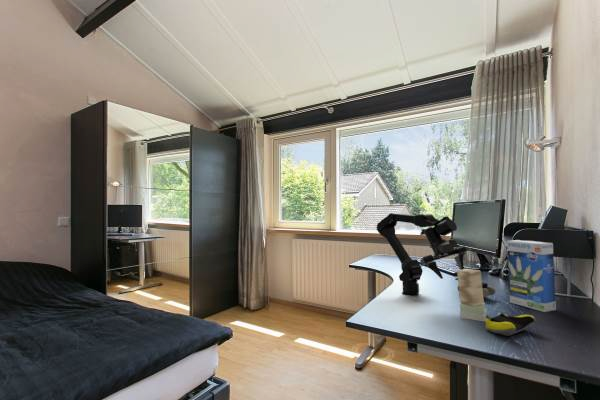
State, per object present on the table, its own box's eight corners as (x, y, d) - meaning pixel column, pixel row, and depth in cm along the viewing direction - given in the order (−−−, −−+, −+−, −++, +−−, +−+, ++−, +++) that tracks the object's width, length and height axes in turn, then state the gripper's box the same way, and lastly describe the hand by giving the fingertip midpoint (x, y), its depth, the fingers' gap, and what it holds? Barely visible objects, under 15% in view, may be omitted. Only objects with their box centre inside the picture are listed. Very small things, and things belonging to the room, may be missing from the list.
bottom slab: (460, 319, 107) (459, 312, 107) (462, 312, 113) (461, 305, 113) (486, 323, 102) (485, 316, 102) (486, 316, 109) (486, 309, 109)
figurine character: (496, 303, 126) (463, 291, 140) (497, 285, 125) (464, 275, 139) (486, 305, 123) (453, 293, 137) (487, 288, 123) (454, 277, 136)
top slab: (460, 311, 107) (460, 304, 107) (463, 306, 113) (463, 299, 113) (482, 315, 103) (482, 308, 103) (485, 309, 108) (484, 303, 109)
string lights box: (509, 302, 122) (505, 240, 123) (521, 300, 124) (517, 239, 125) (545, 312, 109) (541, 243, 110) (557, 309, 112) (553, 242, 113)
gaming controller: (539, 333, 92) (504, 322, 101) (537, 315, 92) (503, 306, 101) (512, 344, 85) (478, 332, 94) (511, 325, 86) (477, 314, 94)
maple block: (460, 302, 110) (457, 270, 110) (469, 300, 112) (466, 268, 113) (474, 306, 105) (471, 272, 105) (484, 303, 107) (480, 270, 108)
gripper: (420, 240, 119) (437, 278, 113) (463, 228, 120) (483, 265, 113) (413, 248, 129) (429, 283, 123) (453, 236, 130) (471, 270, 123)
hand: (452, 275), depth 120 cm, fingers open, 9 cm apart
